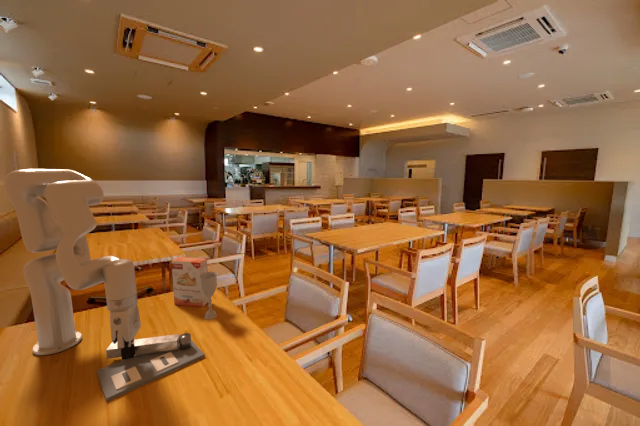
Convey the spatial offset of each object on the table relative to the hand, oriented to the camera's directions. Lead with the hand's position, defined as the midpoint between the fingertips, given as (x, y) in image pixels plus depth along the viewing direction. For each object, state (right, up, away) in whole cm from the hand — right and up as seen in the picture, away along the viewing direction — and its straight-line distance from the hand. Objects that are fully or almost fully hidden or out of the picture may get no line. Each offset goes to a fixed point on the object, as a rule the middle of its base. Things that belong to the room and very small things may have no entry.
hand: (128, 357), depth 88 cm
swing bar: (+4, -1, +5) cm, 7 cm away
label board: (+7, -3, +1) cm, 8 cm away
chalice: (+14, +1, +31) cm, 33 cm away
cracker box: (+1, +3, +42) cm, 42 cm away
